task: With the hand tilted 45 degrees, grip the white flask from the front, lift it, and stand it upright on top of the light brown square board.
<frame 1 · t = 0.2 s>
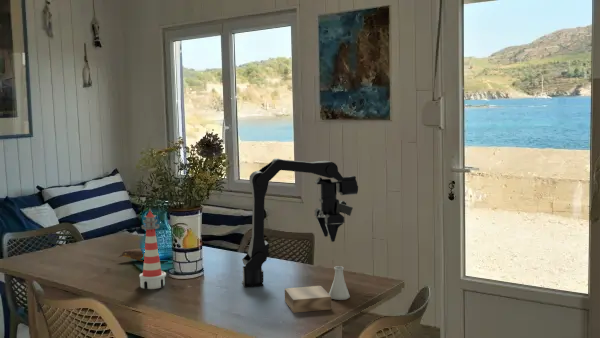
hand: (329, 239, 222), 15 cm above the table, tool pointing down, fingers open, 9 cm apart
bird sculpture: (149, 261, 252), on the table
flask: (339, 297, 202), on the table
miniature lighthouse: (153, 286, 217), on the table
light brown square board: (307, 304, 194), on the table
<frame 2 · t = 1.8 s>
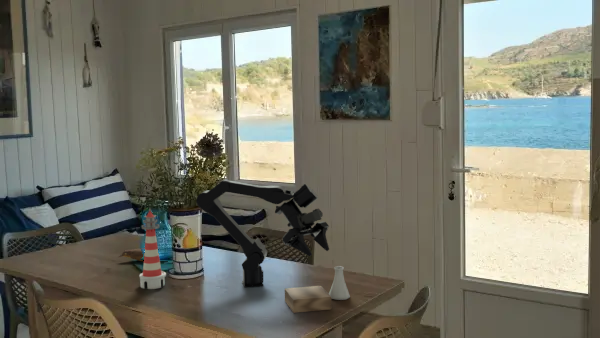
hand: (319, 252, 206), 14 cm above the table, tool tilted 45°, fingers open, 9 cm apart
nothing on the table moved.
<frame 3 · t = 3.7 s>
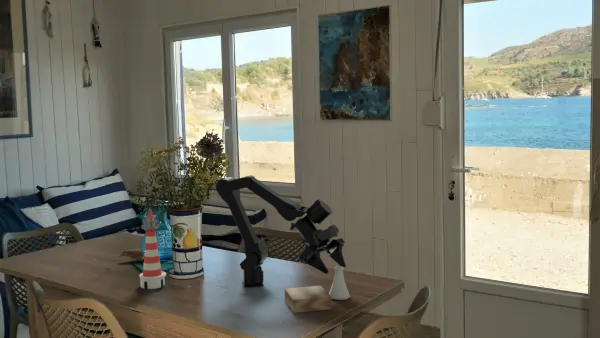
hand: (336, 270, 202), 9 cm above the table, tool tilted 45°, fingers open, 9 cm apart
nothing on the table moved.
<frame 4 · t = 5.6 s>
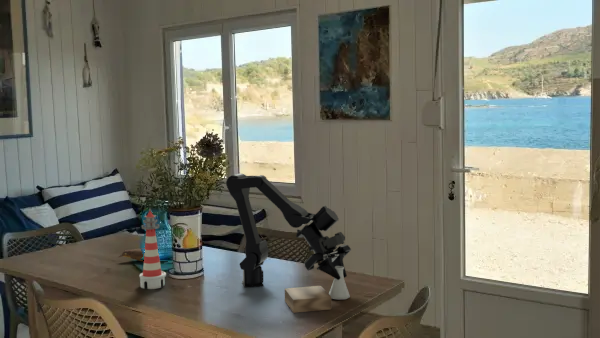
hand: (342, 277, 201), 7 cm above the table, tool tilted 45°, fingers closed on flask, 3 cm apart
flask: (339, 297, 202), on the table, touching gripper
everything else where it was.
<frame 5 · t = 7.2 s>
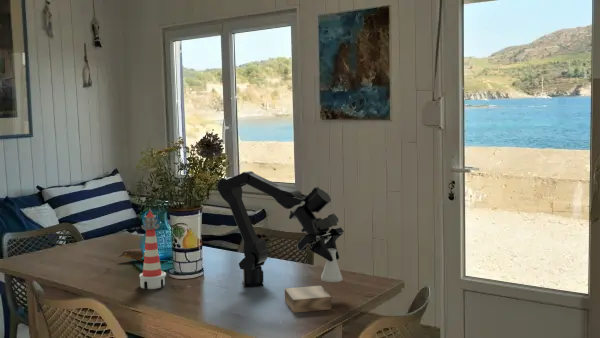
hand: (335, 259, 198), 13 cm above the table, tool tilted 45°, fingers closed on flask, 3 cm apart
flask: (331, 280, 200), point 6 cm above the table, touching gripper
everything else where it was.
when the fingers open (12 cm above the table, at t = 9.0 s): flask stays where it is, resting on light brown square board.
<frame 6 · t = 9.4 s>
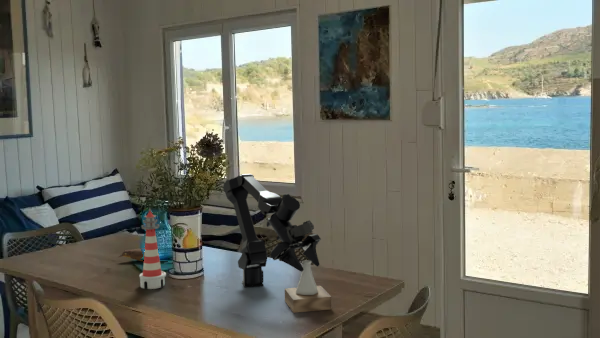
hand: (310, 268, 192), 12 cm above the table, tool tilted 45°, fingers open, 7 cm apart
flask: (307, 293, 194), point 4 cm above the table, touching light brown square board
everything else where it was.
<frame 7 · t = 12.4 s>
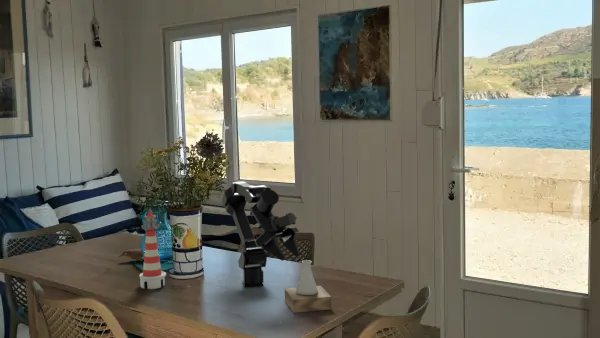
hand: (291, 258, 200), 13 cm above the table, tool tilted 40°, fingers open, 9 cm apart
nothing on the table moved.
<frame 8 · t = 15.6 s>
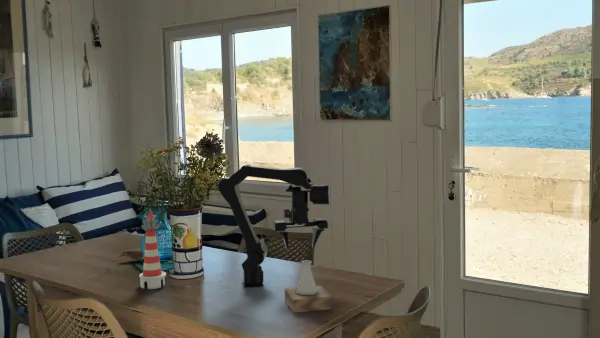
hand: (300, 248, 214), 13 cm above the table, tool pointing down, fingers open, 9 cm apart
nothing on the table moved.
at the end: flask inside the target area on the light brown square board (0.1 cm from its centre), point 3.8 cm above the light brown square board's base; flask tilted 0°; the gripper is holding nothing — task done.
